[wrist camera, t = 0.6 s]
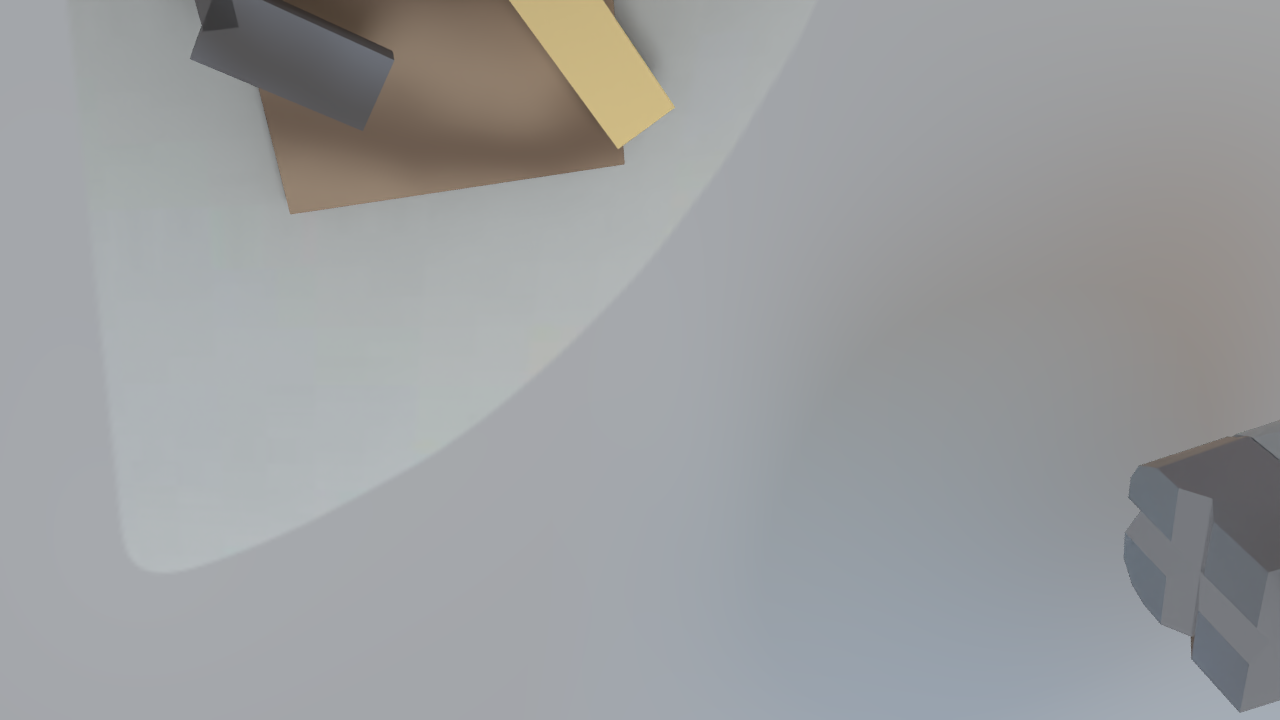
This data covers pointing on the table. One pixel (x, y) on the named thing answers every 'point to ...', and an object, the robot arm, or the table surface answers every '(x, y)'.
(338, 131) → the board
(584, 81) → the link
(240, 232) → the table surface
